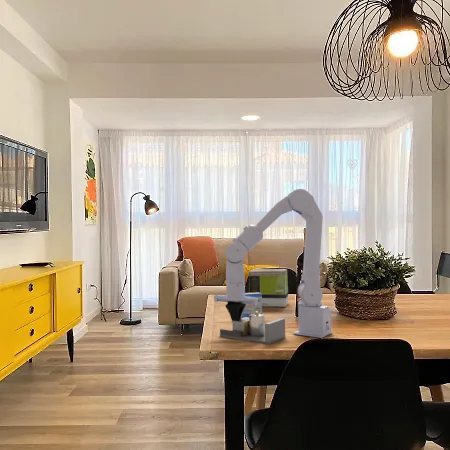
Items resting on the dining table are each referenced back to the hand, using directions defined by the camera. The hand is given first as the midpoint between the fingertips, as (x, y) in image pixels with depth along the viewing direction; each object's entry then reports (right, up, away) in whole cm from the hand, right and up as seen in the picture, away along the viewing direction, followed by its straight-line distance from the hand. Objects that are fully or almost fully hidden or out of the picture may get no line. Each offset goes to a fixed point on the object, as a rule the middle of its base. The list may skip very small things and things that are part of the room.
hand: (236, 326), depth 142 cm
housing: (+6, -2, -4) cm, 8 cm away
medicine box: (+6, -3, +27) cm, 28 cm away
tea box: (+15, -2, +51) cm, 53 cm away
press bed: (+5, -2, -4) cm, 6 cm away
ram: (+3, -2, -2) cm, 4 cm away
